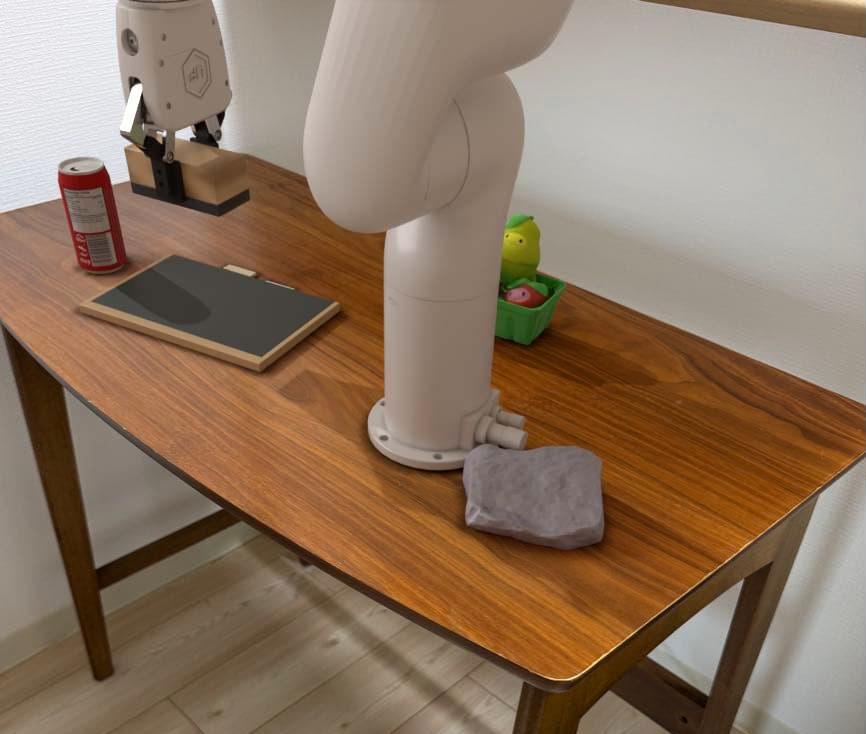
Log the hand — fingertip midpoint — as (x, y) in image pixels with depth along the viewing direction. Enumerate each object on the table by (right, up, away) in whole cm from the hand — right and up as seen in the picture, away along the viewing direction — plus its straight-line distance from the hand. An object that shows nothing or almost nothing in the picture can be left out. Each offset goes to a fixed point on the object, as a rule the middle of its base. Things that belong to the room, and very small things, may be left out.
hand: (190, 188), depth 90 cm
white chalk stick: (+6, -6, +14) cm, 17 cm away
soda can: (-15, -3, +17) cm, 23 cm away
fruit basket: (+32, -11, +10) cm, 36 cm away
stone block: (+33, -33, -14) cm, 49 cm away
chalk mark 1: (+1, -3, +16) cm, 17 cm away
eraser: (0, -1, +1) cm, 1 cm away
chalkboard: (0, -10, +9) cm, 14 cm away
